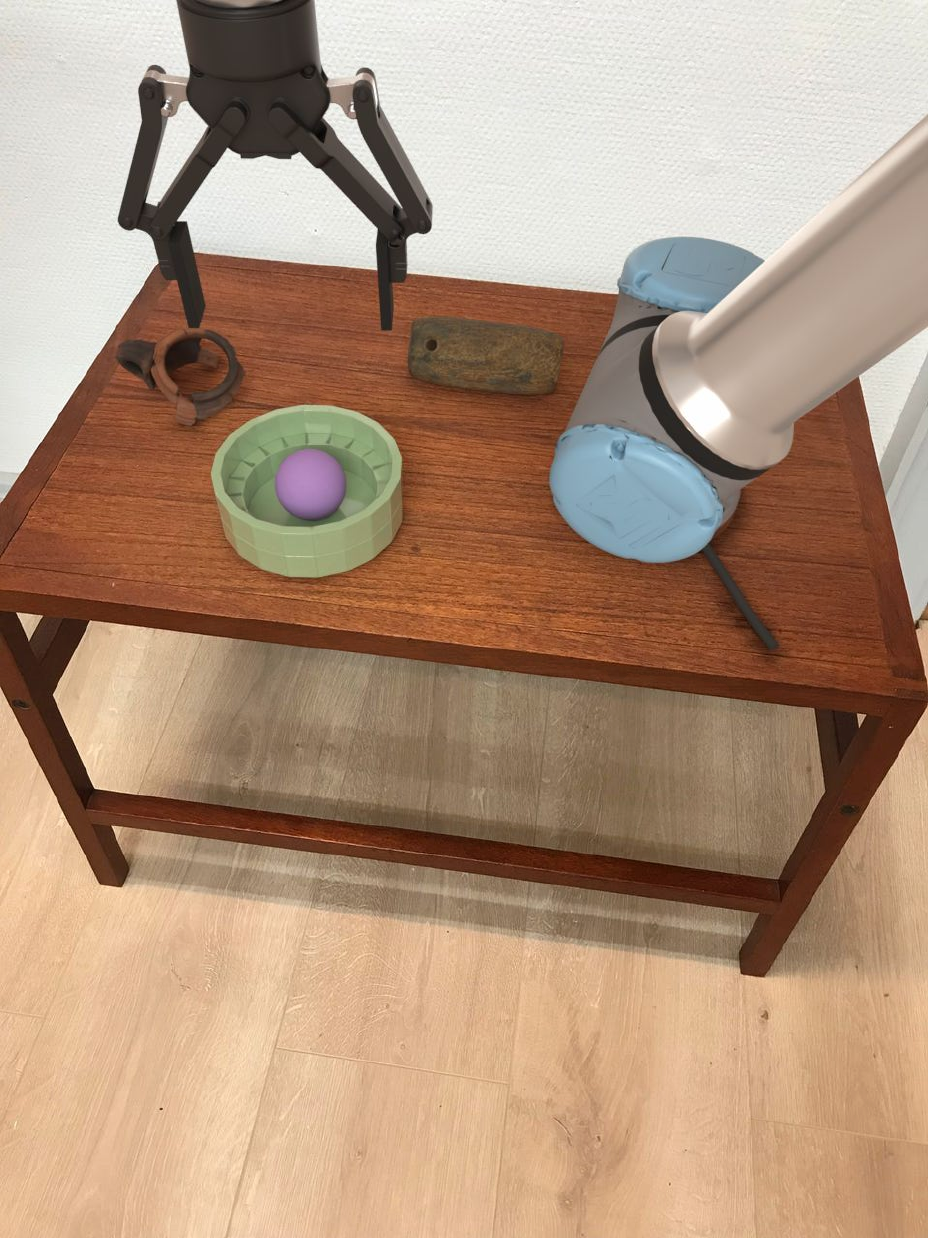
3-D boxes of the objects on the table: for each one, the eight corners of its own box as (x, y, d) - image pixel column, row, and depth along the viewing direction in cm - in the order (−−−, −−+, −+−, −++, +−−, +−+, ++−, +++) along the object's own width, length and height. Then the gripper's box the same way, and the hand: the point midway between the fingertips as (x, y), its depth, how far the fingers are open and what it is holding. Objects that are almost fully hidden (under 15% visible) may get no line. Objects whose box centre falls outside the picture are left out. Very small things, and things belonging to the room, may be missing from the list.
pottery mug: (248, 363, 100) (253, 325, 92) (234, 450, 98) (238, 419, 90) (125, 337, 97) (119, 296, 89) (108, 426, 95) (100, 392, 87)
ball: (345, 536, 83) (341, 485, 79) (274, 533, 83) (266, 482, 78) (350, 486, 87) (347, 435, 82) (283, 484, 87) (275, 432, 82)
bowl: (398, 586, 81) (396, 535, 76) (209, 581, 81) (195, 531, 76) (407, 458, 91) (405, 406, 86) (238, 454, 90) (228, 402, 86)
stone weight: (406, 402, 96) (404, 344, 90) (412, 358, 100) (411, 300, 95) (559, 410, 95) (567, 352, 90) (559, 365, 100) (565, 308, 94)
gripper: (471, -41, 56) (467, 290, 72) (34, -47, 56) (129, 286, 72) (471, 10, 51) (466, 352, 68) (-7, 3, 51) (105, 347, 67)
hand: (292, 318), depth 70 cm, fingers open, 13 cm apart
